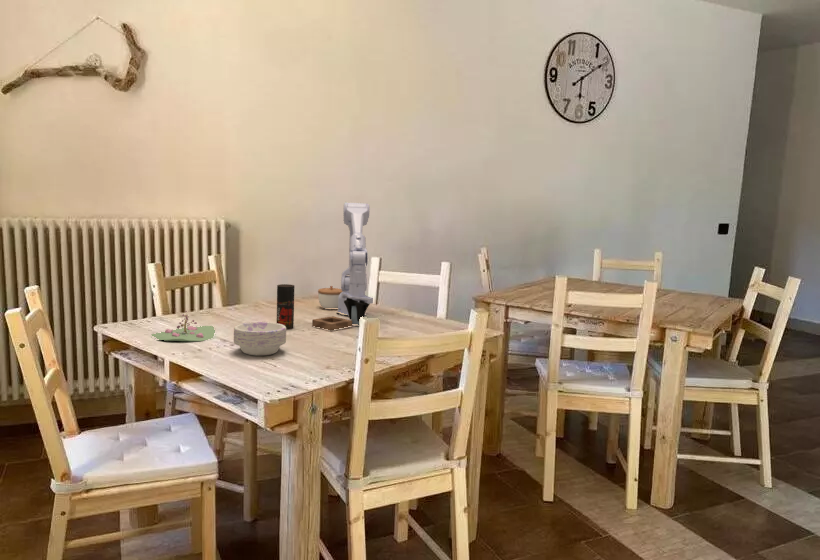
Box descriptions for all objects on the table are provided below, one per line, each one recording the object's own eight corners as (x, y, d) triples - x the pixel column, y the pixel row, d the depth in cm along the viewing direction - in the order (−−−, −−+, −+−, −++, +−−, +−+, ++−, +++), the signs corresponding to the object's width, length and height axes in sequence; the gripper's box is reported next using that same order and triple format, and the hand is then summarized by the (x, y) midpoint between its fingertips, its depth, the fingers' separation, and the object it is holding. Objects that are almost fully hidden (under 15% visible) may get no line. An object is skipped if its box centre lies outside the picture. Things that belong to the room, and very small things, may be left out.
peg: (348, 325, 232) (349, 306, 231) (355, 323, 234) (356, 305, 233) (355, 326, 229) (356, 307, 228) (362, 325, 232) (363, 306, 231)
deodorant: (272, 328, 221) (273, 285, 219) (283, 325, 226) (284, 283, 224) (286, 330, 218) (287, 287, 216) (297, 327, 223) (298, 285, 221)
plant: (171, 325, 219) (171, 300, 218) (230, 328, 220) (231, 302, 218) (141, 343, 195) (140, 314, 193) (208, 346, 195) (208, 317, 194)
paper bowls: (264, 343, 200) (264, 318, 198) (296, 352, 190) (296, 327, 189) (222, 351, 188) (223, 325, 187) (254, 361, 178) (255, 334, 177)
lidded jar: (319, 311, 254) (319, 288, 253) (316, 306, 265) (316, 283, 263) (345, 311, 257) (346, 288, 256) (341, 306, 267) (342, 284, 266)
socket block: (312, 326, 226) (312, 319, 226) (332, 322, 234) (333, 316, 233) (331, 331, 220) (331, 324, 220) (351, 327, 227) (352, 320, 227)
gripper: (335, 281, 231) (334, 318, 233) (363, 287, 222) (362, 324, 224) (349, 280, 237) (348, 315, 238) (377, 285, 227) (376, 322, 229)
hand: (356, 320), depth 231 cm, fingers closed on peg, 4 cm apart
